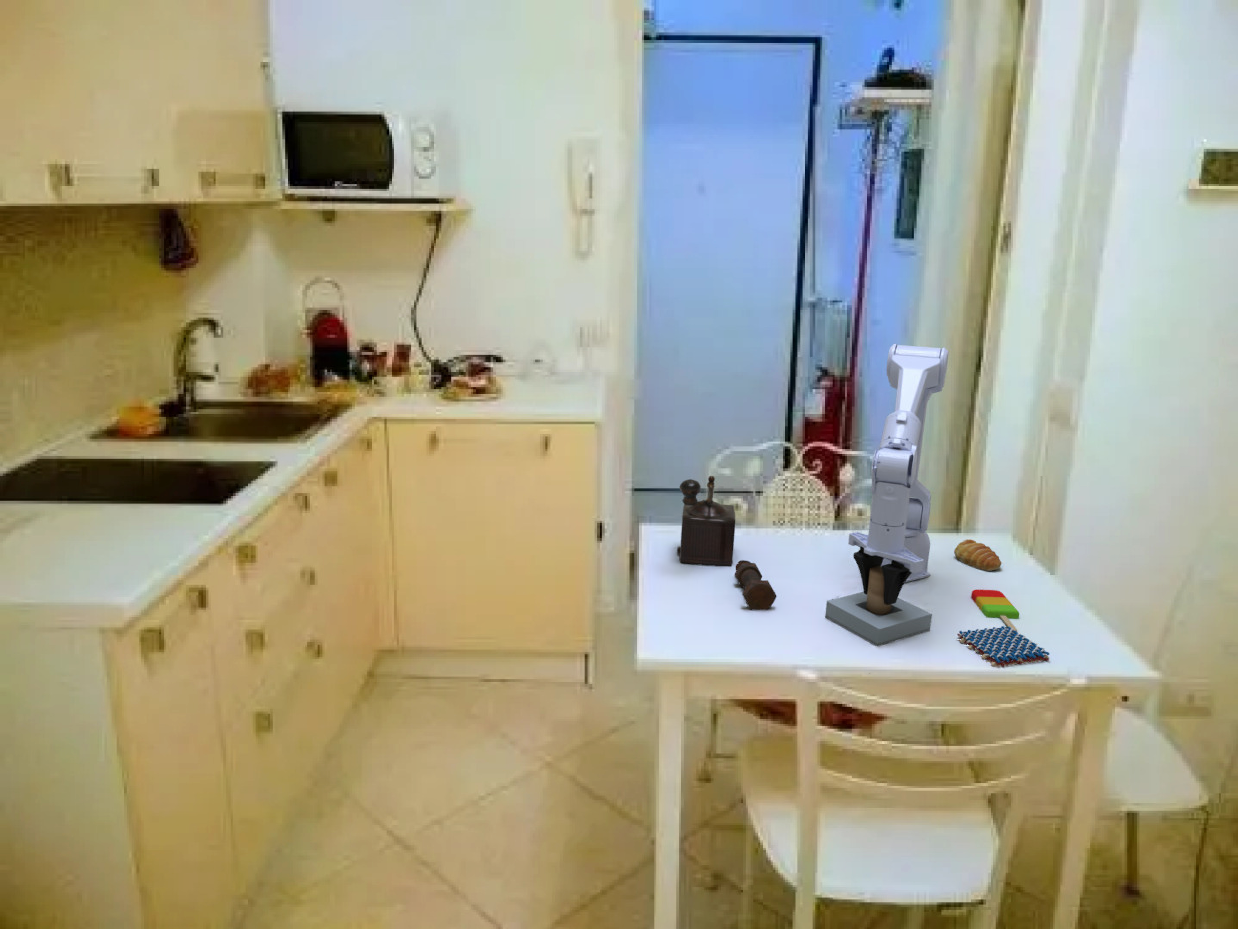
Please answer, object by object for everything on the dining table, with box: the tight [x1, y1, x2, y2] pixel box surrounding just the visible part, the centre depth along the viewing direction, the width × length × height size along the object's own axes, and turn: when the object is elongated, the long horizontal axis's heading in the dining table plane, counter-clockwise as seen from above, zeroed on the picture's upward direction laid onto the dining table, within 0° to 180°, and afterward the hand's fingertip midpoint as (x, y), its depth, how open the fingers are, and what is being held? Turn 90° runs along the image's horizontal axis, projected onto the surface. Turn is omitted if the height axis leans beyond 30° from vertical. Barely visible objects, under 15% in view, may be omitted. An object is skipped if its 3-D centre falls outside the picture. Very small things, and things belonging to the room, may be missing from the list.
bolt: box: [734, 559, 778, 611], centre depth 163 cm, size 6×5×15 cm
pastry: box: [953, 539, 1002, 572], centre depth 179 cm, size 9×7×4 cm
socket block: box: [824, 591, 933, 647], centre depth 152 cm, size 12×12×3 cm
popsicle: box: [970, 589, 1020, 632], centre depth 157 cm, size 6×15×2 cm, turn 177°
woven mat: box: [956, 625, 1051, 668], centre depth 144 cm, size 10×11×2 cm
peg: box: [866, 566, 891, 615], centre depth 150 cm, size 4×4×7 cm
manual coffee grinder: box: [676, 475, 736, 567], centre depth 176 cm, size 16×11×18 cm
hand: (879, 598), depth 151 cm, fingers closed on peg, 4 cm apart
